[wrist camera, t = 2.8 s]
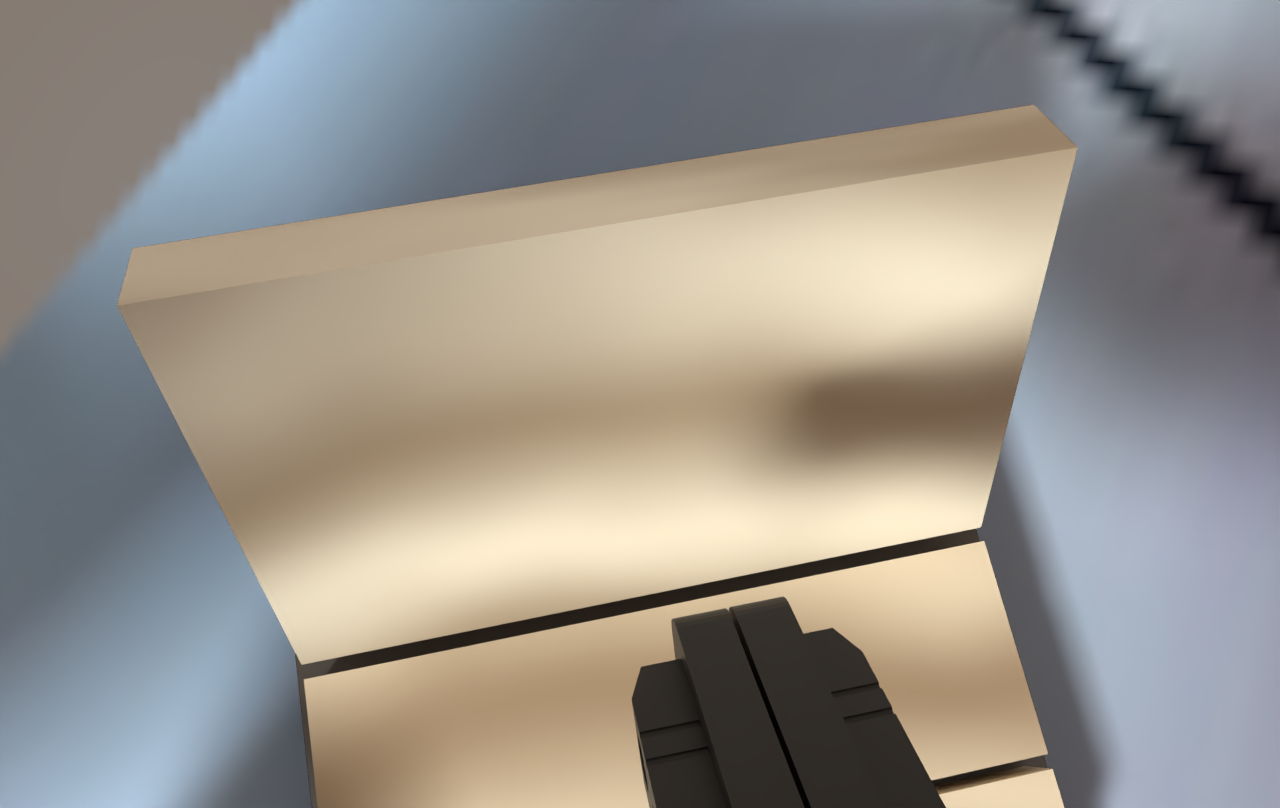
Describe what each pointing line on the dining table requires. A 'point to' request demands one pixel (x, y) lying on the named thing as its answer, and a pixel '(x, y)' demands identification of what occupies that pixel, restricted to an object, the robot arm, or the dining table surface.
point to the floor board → (642, 635)
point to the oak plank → (608, 374)
